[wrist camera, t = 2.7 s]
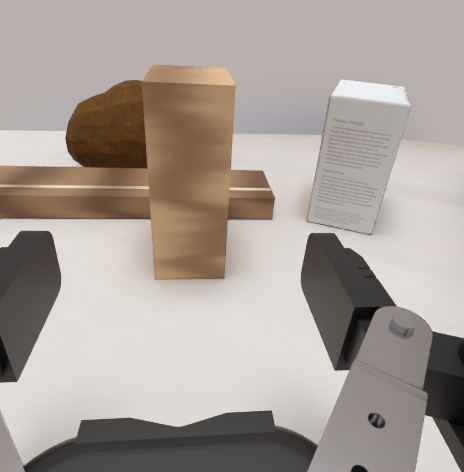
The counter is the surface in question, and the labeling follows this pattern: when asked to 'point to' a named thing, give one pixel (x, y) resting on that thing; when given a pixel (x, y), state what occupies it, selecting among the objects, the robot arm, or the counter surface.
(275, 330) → the counter surface
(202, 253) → the tan block
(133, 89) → the potato
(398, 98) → the small box
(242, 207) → the walnut board
